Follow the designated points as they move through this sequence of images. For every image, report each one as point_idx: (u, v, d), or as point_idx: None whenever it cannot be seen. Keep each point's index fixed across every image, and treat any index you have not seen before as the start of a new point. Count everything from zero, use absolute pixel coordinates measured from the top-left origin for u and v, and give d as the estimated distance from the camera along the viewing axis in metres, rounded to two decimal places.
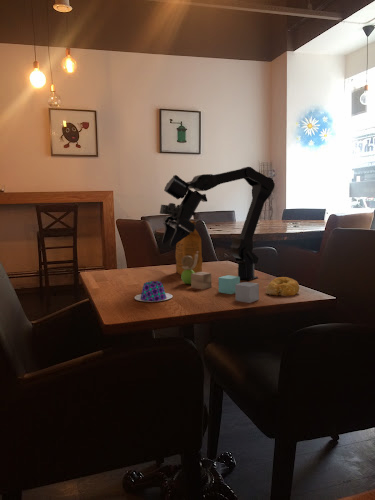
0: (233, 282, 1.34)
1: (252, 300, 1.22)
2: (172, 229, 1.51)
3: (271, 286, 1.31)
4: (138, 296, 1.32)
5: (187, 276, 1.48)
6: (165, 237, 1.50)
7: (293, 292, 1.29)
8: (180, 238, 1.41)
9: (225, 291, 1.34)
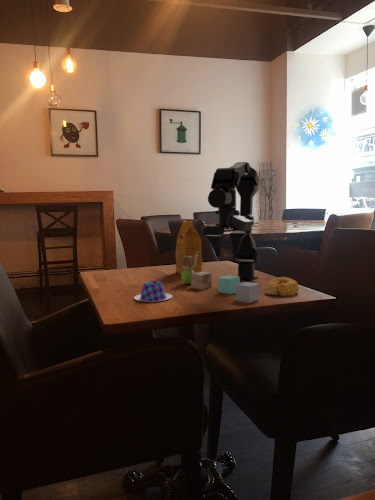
0: (233, 282, 1.34)
1: (252, 300, 1.22)
2: None
3: (270, 286, 1.31)
4: (138, 296, 1.32)
5: (187, 276, 1.48)
6: None
7: (292, 292, 1.29)
8: None
9: (225, 291, 1.34)
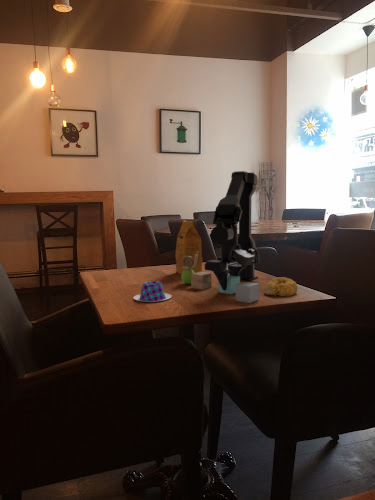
0: (233, 282, 1.34)
1: (252, 300, 1.22)
2: None
3: (269, 286, 1.31)
4: (137, 296, 1.32)
5: (187, 276, 1.48)
6: None
7: (291, 292, 1.29)
8: None
9: (225, 291, 1.34)
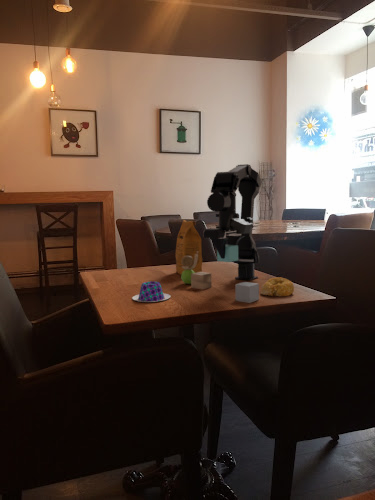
0: (231, 250, 1.35)
1: (252, 300, 1.22)
2: None
3: (266, 286, 1.30)
4: (136, 296, 1.32)
5: (187, 276, 1.48)
6: None
7: (288, 292, 1.28)
8: None
9: (223, 259, 1.36)
